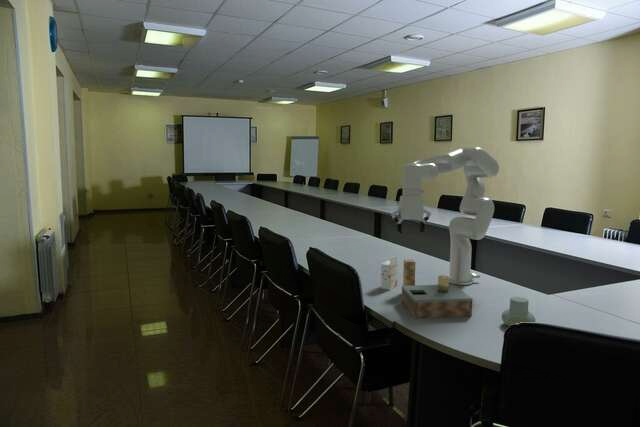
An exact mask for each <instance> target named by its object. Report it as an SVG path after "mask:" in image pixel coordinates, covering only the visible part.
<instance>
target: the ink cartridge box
mask: <svg viewBox="0 0 640 427" xmlns="http://www.w3.org/2000/svg"><path fill="white" fill-rule="evenodd" d="M398 264H399V261H398V255H394V256H392V257H390V259H388V260H386V261H384V262H382V263H381V264H380V265H381V266H380V270H381V271H380V288H381V290H382V289H383V290H388V291H391V290H393V289H394V288H396V287H398V273H399V272H398V269H399V268H398V266H399V265H398Z"/></svg>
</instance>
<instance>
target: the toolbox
mask: <svg viewBox="0 0 640 427" xmlns="http://www.w3.org/2000/svg"><path fill="white" fill-rule="evenodd" d="M412 294H413V295H426V294H425V293H424V292H412ZM401 303H402V304H403V305H404V307H405V308H406V310H408V311H409V313H410V315H411V316H413V318H414V319H429V318H430V319H431V318H432V319H433V318H454V317H455V318H459V317H461V318H462V317H472V316H473V300H472V301H454V302H424V303H415V302H414V301H413V300H412V298H411V297H410V296H409V295H408V294H407V293H406V292H405V291H404V290H403V289H402V288H401Z"/></svg>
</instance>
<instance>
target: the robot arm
mask: <svg viewBox="0 0 640 427" xmlns="http://www.w3.org/2000/svg"><path fill="white" fill-rule="evenodd" d="M461 168H463V173H464V175H465V178H466V184H467V185H466V188H465V192H464V194H463V197H462V200H461V202H460V205H459V211H460V213H461V214H462V215H464V216H456V217H455V216H454V217H453V218H451V220H450V221H449V224H448V230H449V235H450V250H449V251H450V254H449V255H450V256H449V276H448V277H449V284H454V285H455V286H457V285H458V286H469V285H473V283H474V279H480V278H481V274H479V273H476V274H475V273H472V272H471V266H472V243H471V240H479V241H480V240H482V239H483V238H484V237H485V236H486V234H487V232H488V230H489V227H490V224H491V221H492V219H493V216H494V213H495V204H494V202H493V200H492V199H491V198H489V197H484V195H485V193H486V186H485V183H484V180H483V179H482V178H486V179H487V178H490V179H491V178H494V177H496V176H497V175H498V173H499V172H500V165H499V163H498V161H497V160H496V159H495V158H494V157H492V156H491V155H490V154H489V153H488V152H487V151H486V150H484V149H483V148H481V147H477V146H473V147H472V146H471V147H470V146H468V147H459V148H457V149H454V150H451V151H449V152H446V153H443V154H437V155H435V156H430V157H426V158H425V157H424V158H421V159H419V160H416V161H413V162H411V163H406V164H403V167H402V195H400V196H399V203H398V209H397V210H394V211H393V212H391V214H390V216H391V217H392V219H393V221H394V222H395V223H396V230H397V232H398V233H399V234H402V233H403V232H402V229H403V227H402V226H403V225H402V222H403V221H404V220H419V221H420V222H419V232H420V233H424V231H425V230H426V229H425V227H426V225H425V224H426V222H427V221H428V220H429V219H430V217H431V215H432V212H430V211H428V210H426V209H425V208H424V202H423V201H424V200H423V196H422V194H424V192H425V190H424V189H422V188H421V186H422V185H421V181H432V180H433V181H434V180H435V179H436V178H437V177H438V176H439V174H445V173H450V172H453V171H455V170H457V169H461ZM424 214H426V215H424ZM397 216H398V218H397ZM424 216H425V217H424ZM465 216H466V217H465ZM467 216H468V217H467ZM474 217H475V218H474ZM470 239H471V240H470Z"/></svg>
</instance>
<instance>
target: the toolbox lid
mask: <svg viewBox="0 0 640 427" xmlns="http://www.w3.org/2000/svg"><path fill="white" fill-rule="evenodd" d="M402 289H403V290H404V291H405V292H406V293H407V294H408V295H409V296H410V297H411V298H412V300H413V301H414V302H415V303H424V302H454V301H472V302H473V297H471V296H470V295H469V294H467V293H466V292H465V291H463V290H462V289H460V288H459V287H458V286H457V285H456V284H451V283H449V276H448V275H438V278H437V284H424V285H421V284H418V285H416V284H415V285H413V286H403V285H401V290H402ZM412 292H424V293H425V294H426V295H413V294H412Z"/></svg>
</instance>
